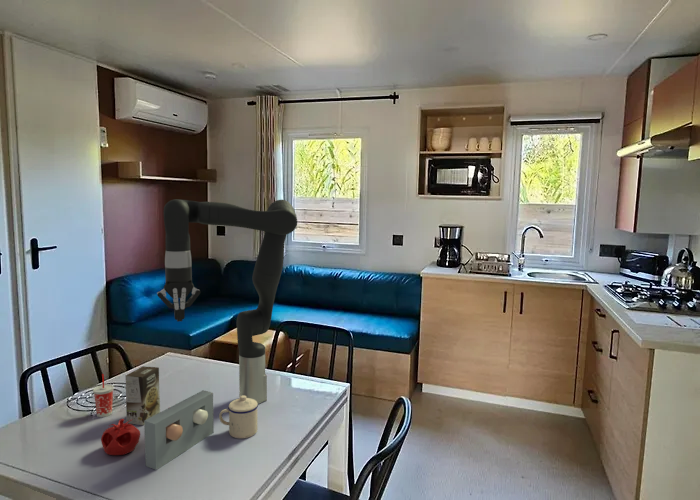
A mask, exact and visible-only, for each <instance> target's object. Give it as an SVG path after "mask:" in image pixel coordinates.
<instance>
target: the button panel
mask: <svg viewBox="0 0 700 500" xmlns="http://www.w3.org/2000/svg"><path fill="white" fill-rule="evenodd" d="M197 409H202V410H205V411H207V412H208V418H207V420H206V422H205V423H204V424H202V425H201V424H197V423H194V422H193V411H195V410H197ZM172 423H174V424H177V425H180V426H182V428H183V432H182V435H181V437H180V438H179V439H178V440H176V441H174V440H171V439H168V438H166V427H167V426H169V425H170V424H172ZM143 426H144V450H145V451H144V452H145V453H144V455H145V458H144V459H145V467H147V468H150V469H153V470H155V471H157V470H159V469H160V468H162V467H164V466H165V465H166V464H168V463H169V462H171V461H173V460H174V459H176V458H177V457H178V456H180V455H182V454H183V453H185V452H186V451H188V450H189V449H191V448H192V447H194V446H195V445H197V444H199V443H200V442H202V441H203V440H205V439H206V438H208V437H209V436H211V435H212V434H214V432H215V430H214V428H215V427H214V426H215V425H214V393H213V392H212V391H207V390H204V389H203V390H200V391H199V392H197V393H194V394H193V395H191V396H189V397H187V398H185V399H183V400H181V401H179V402H178V403H175V404H174V405H171V406H170V407H168V408H166V409H165V410H162V411H160V413H158V414H156V415H154V416H152V417H150V418H148V419H147V420H145V421H144V425H143Z"/></svg>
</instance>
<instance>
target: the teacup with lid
mask: <svg viewBox="0 0 700 500" xmlns="http://www.w3.org/2000/svg"><path fill="white" fill-rule="evenodd" d="M258 407H259V404H258V403H257V401H256V400H254V399H251V398H247V397H246V396H245V395H242V396H240V398H237V399H234V400H232V401H230V403H229V404H228V406H227V408H225V409H222V410H221V411H220V412H219V413H218V417H219V421H220V422H221V424H222V425H224V426H229V427H228V433H229V435H230V436H231V437H233V438H235V439H249V438H251V437H252V436H254V435H256V433H257V432H258ZM224 413H228V421H226V420H225V419H224V418H223V414H224Z"/></svg>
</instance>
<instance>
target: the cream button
mask: <svg viewBox="0 0 700 500" xmlns="http://www.w3.org/2000/svg"><path fill="white" fill-rule="evenodd" d="M207 418H208V412H207V411H205V410H202V409H197V410H195V411H193V422H194V423H197V424H201V425H202V424H204V423H205V422H206V420H207Z"/></svg>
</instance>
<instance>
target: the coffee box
mask: <svg viewBox="0 0 700 500" xmlns="http://www.w3.org/2000/svg"><path fill="white" fill-rule="evenodd" d="M160 397H161V396H160V368H159V367H158V366H157V367H156V366H144V365H143V366H141V367H139V368H137V369H135V370H134V371H132V372H129V373H128V374H126V375H125V406H126V407H125V411H126V413H125V414H126V423H127V422H128V421H129V420H132V419H133V420H132V421H129V422H128V423H127V424H131V425H138V426H139V425H140V426H144V421H145V420H147V419H148V418H150V417H152V416H154V415H156V414H158V413H160V412H161V404H160V402H161V401H160Z"/></svg>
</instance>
